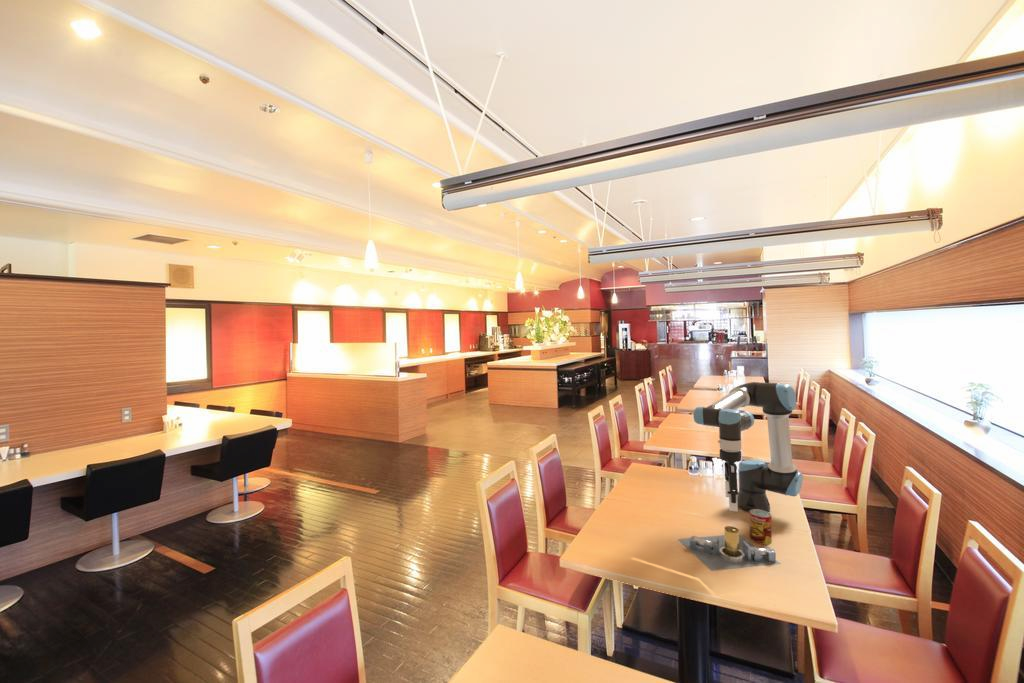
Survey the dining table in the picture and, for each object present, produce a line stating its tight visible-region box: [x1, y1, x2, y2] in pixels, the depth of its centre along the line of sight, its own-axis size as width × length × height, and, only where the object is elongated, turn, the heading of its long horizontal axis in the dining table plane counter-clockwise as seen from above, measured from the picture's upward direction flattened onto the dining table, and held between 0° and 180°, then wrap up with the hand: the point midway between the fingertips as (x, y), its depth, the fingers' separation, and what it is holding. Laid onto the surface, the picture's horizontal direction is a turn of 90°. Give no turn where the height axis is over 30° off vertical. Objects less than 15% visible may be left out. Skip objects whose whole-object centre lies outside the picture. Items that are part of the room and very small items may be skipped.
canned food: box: [749, 509, 773, 545], centre depth 174 cm, size 8×8×12 cm
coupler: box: [724, 525, 740, 557], centre depth 160 cm, size 5×5×11 cm
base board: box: [677, 534, 782, 572], centre depth 165 cm, size 28×24×1 cm
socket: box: [720, 547, 745, 563], centre depth 160 cm, size 8×8×2 cm
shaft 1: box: [689, 535, 719, 556], centre depth 166 cm, size 10×5×5 cm, turn 53°
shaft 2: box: [743, 541, 777, 562], centre depth 159 cm, size 10×5×5 cm, turn 83°
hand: (731, 503), depth 162 cm, fingers open, 13 cm apart
